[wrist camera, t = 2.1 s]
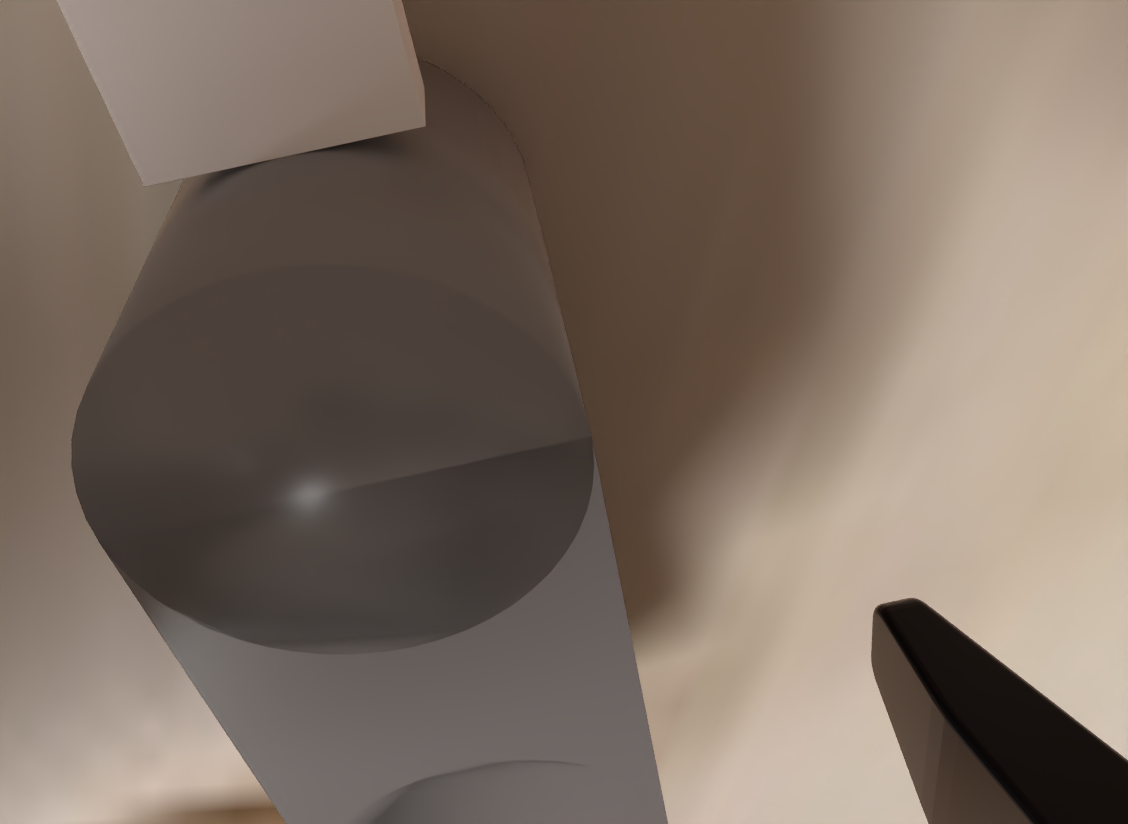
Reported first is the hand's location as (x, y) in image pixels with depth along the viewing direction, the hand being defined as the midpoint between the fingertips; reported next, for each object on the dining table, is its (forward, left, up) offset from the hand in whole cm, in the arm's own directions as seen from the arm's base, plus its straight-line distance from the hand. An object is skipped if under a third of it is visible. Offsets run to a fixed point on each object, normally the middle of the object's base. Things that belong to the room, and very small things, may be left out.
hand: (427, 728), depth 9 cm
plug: (0, 0, -5) cm, 5 cm away
